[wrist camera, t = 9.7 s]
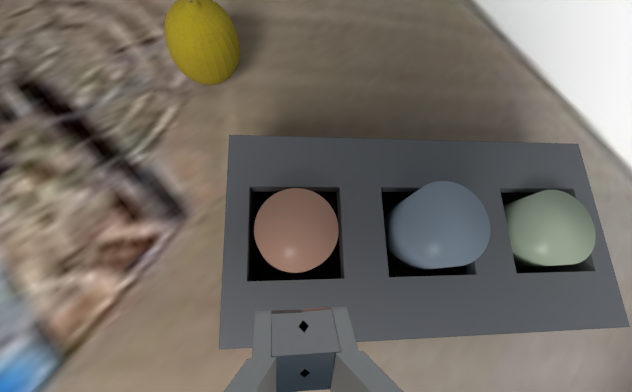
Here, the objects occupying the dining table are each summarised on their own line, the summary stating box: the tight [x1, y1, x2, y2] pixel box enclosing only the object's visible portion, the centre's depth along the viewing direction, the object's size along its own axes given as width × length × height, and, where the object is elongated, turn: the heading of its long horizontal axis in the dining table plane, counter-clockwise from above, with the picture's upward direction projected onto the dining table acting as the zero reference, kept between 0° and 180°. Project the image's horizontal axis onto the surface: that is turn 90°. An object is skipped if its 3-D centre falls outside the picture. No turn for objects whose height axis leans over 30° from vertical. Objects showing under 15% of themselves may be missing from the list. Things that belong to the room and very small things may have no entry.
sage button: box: [503, 190, 596, 268], centre depth 21 cm, size 5×5×4 cm
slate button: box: [384, 181, 490, 270], centre depth 18 cm, size 5×5×4 cm
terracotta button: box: [254, 188, 338, 274], centre depth 19 cm, size 5×5×4 cm
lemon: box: [165, 0, 240, 85], centre depth 25 cm, size 6×6×8 cm
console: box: [219, 135, 630, 350], centre depth 23 cm, size 24×12×8 cm, turn 92°
